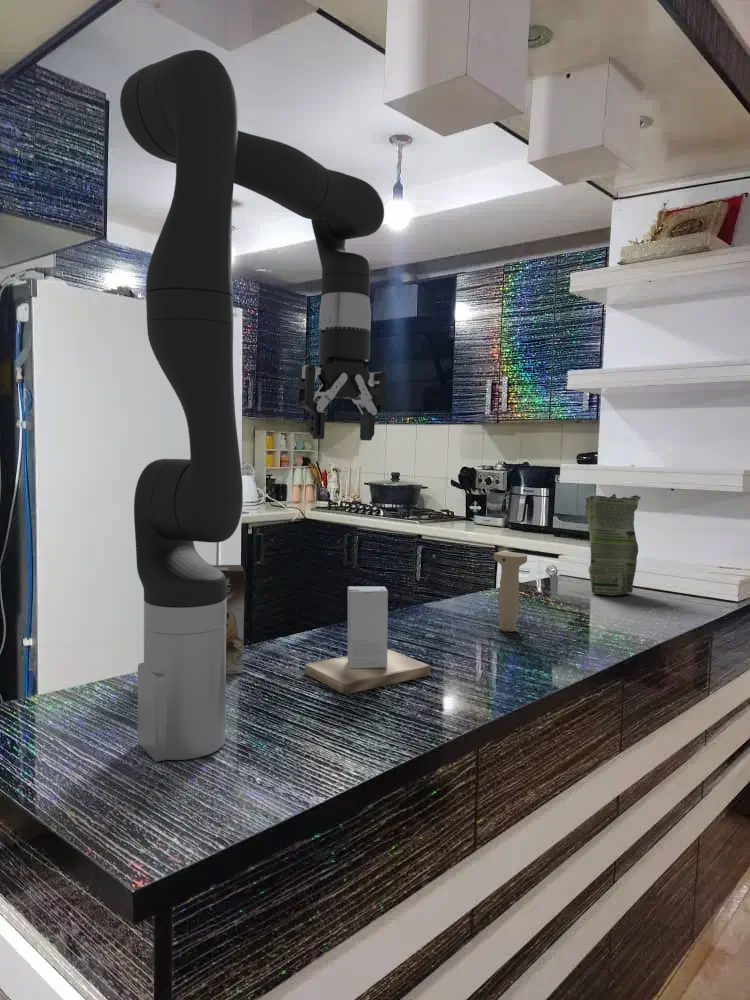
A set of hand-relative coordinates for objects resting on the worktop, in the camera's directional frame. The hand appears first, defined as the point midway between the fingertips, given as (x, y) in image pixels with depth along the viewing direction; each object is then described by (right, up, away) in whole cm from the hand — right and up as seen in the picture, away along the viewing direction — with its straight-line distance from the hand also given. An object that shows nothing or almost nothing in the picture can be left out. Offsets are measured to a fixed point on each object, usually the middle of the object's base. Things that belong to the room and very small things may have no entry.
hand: (342, 439), depth 105 cm
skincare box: (+3, -35, +5) cm, 35 cm away
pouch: (+64, -33, +73) cm, 102 cm away
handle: (+31, -35, +34) cm, 57 cm away
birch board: (+4, -36, +5) cm, 36 cm away
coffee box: (-20, -36, +6) cm, 41 cm away
